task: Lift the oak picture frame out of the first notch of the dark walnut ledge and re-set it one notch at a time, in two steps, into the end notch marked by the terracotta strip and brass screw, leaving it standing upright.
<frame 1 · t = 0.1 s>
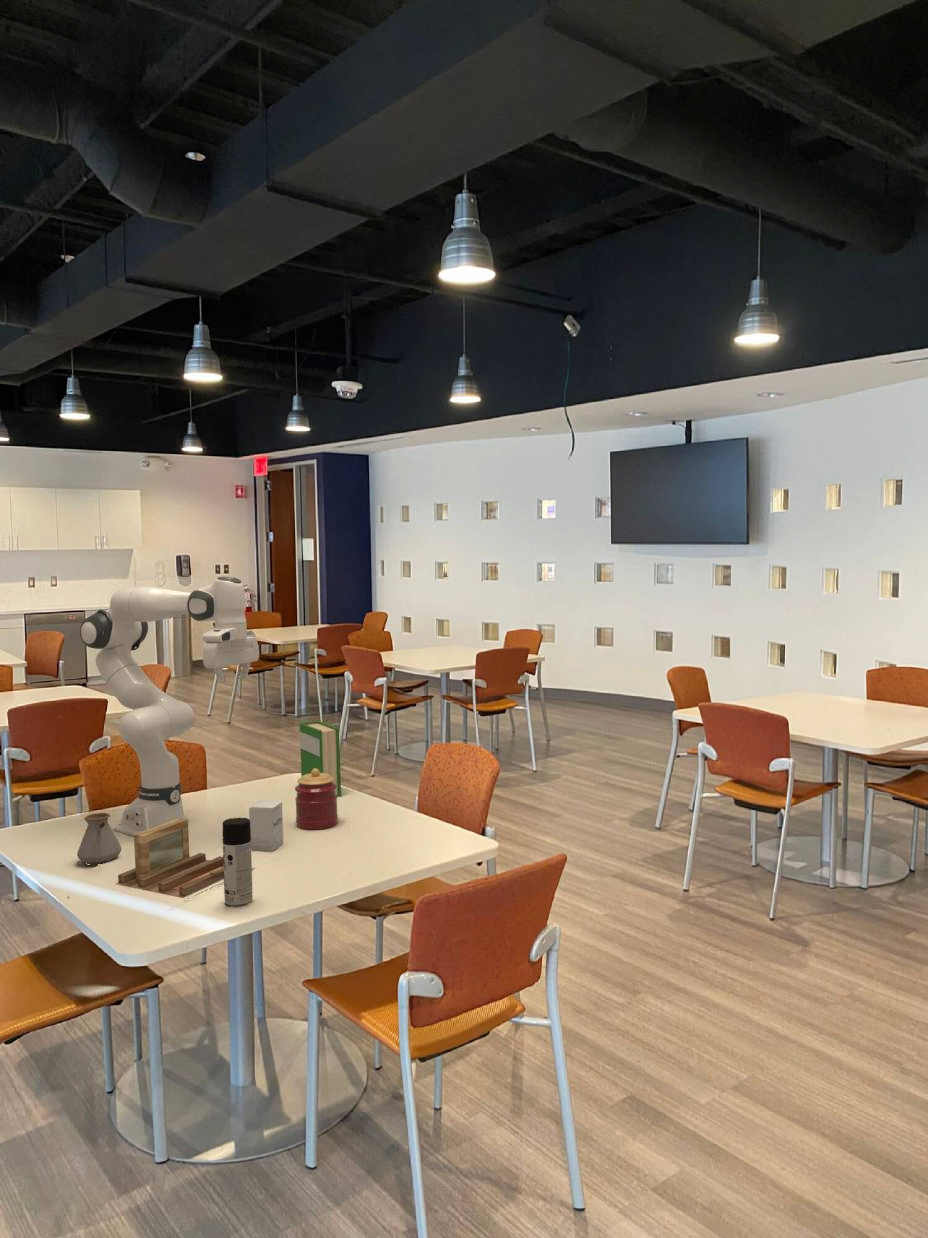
hand: (233, 680, 265), 48 cm above the table, tool pointing down, fingers open, 8 cm apart
hardback book: (321, 793, 323), on the table
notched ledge: (183, 879, 238), on the table
canister: (317, 825, 285), on the table
picture frame: (163, 871, 242), point 1 cm above the table, touching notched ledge
supplement box: (267, 847, 264), on the table
coffee pot: (101, 867, 250), on the table
spray can: (239, 902, 222), on the table
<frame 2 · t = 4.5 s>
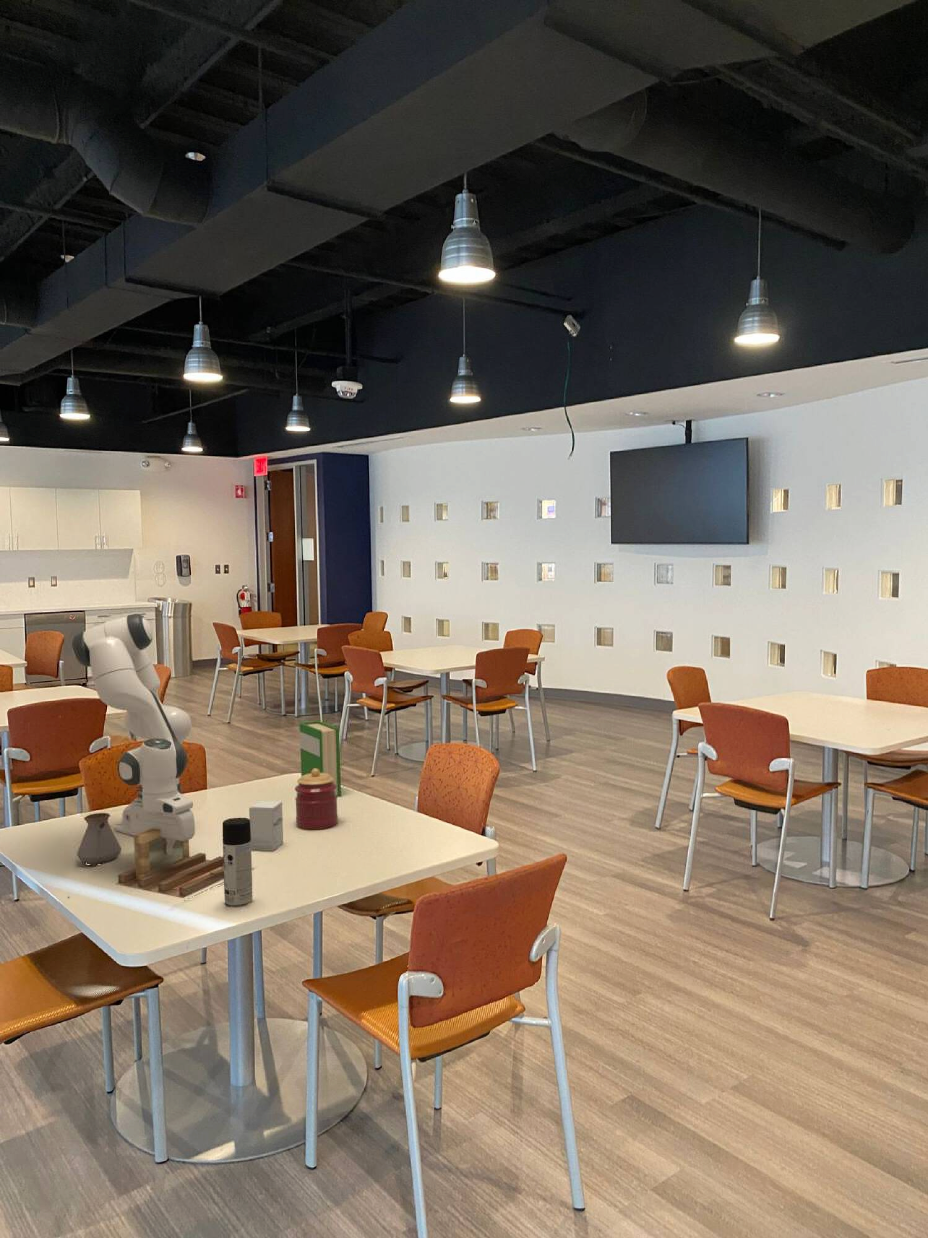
hand: (162, 852, 241), 6 cm above the table, tool pointing down, fingers closed on picture frame, 3 cm apart
picture frame: (163, 871, 242), point 1 cm above the table, touching gripper, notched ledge
everything else where it was.
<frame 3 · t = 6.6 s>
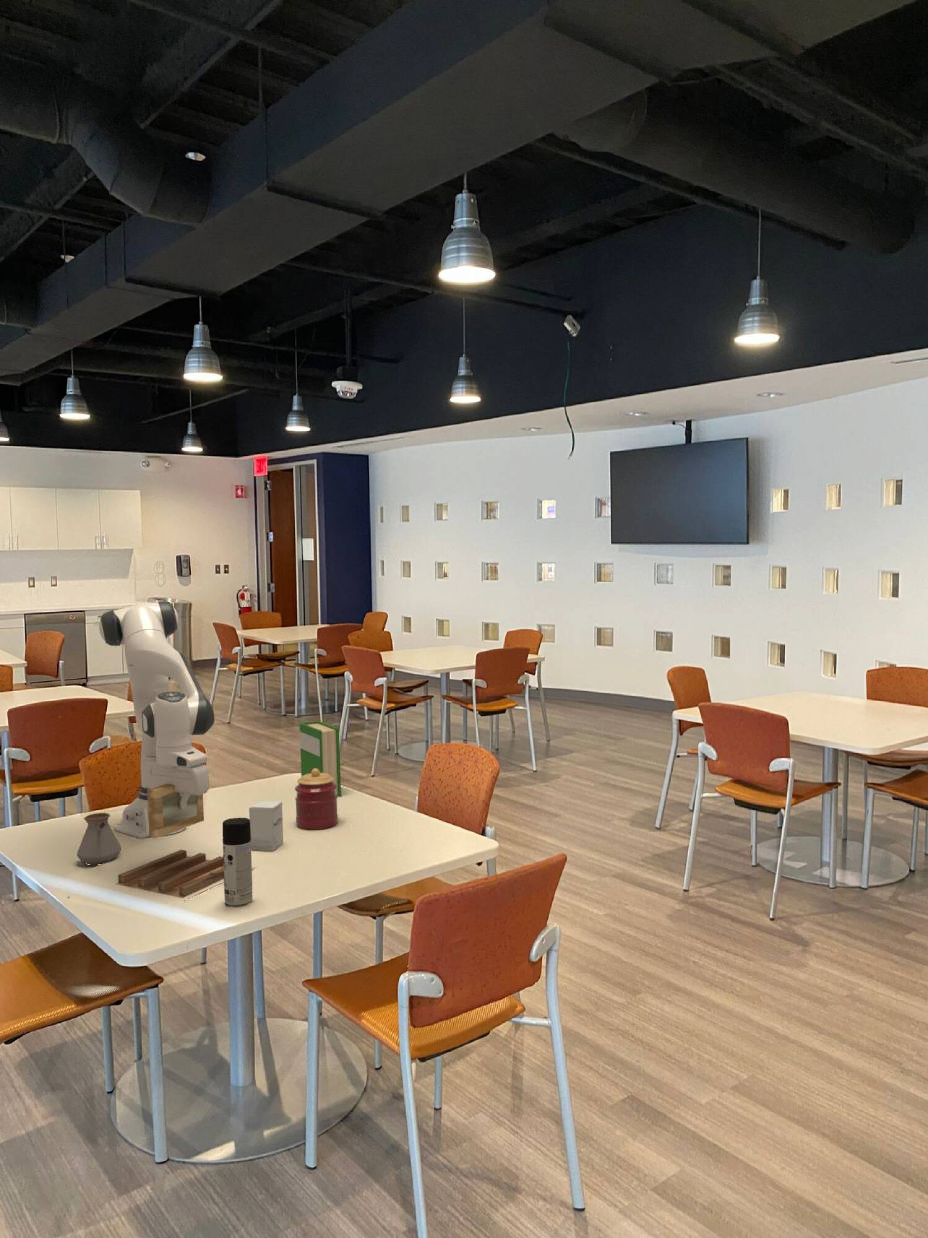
hand: (176, 808, 237), 19 cm above the table, tool pointing down, fingers closed on picture frame, 3 cm apart
picture frame: (177, 828, 237), point 14 cm above the table, touching gripper
everything else where it was.
when the fingers open (8 cm above the table, at t = 8.9 s): picture frame drops 1 cm, resting on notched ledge.
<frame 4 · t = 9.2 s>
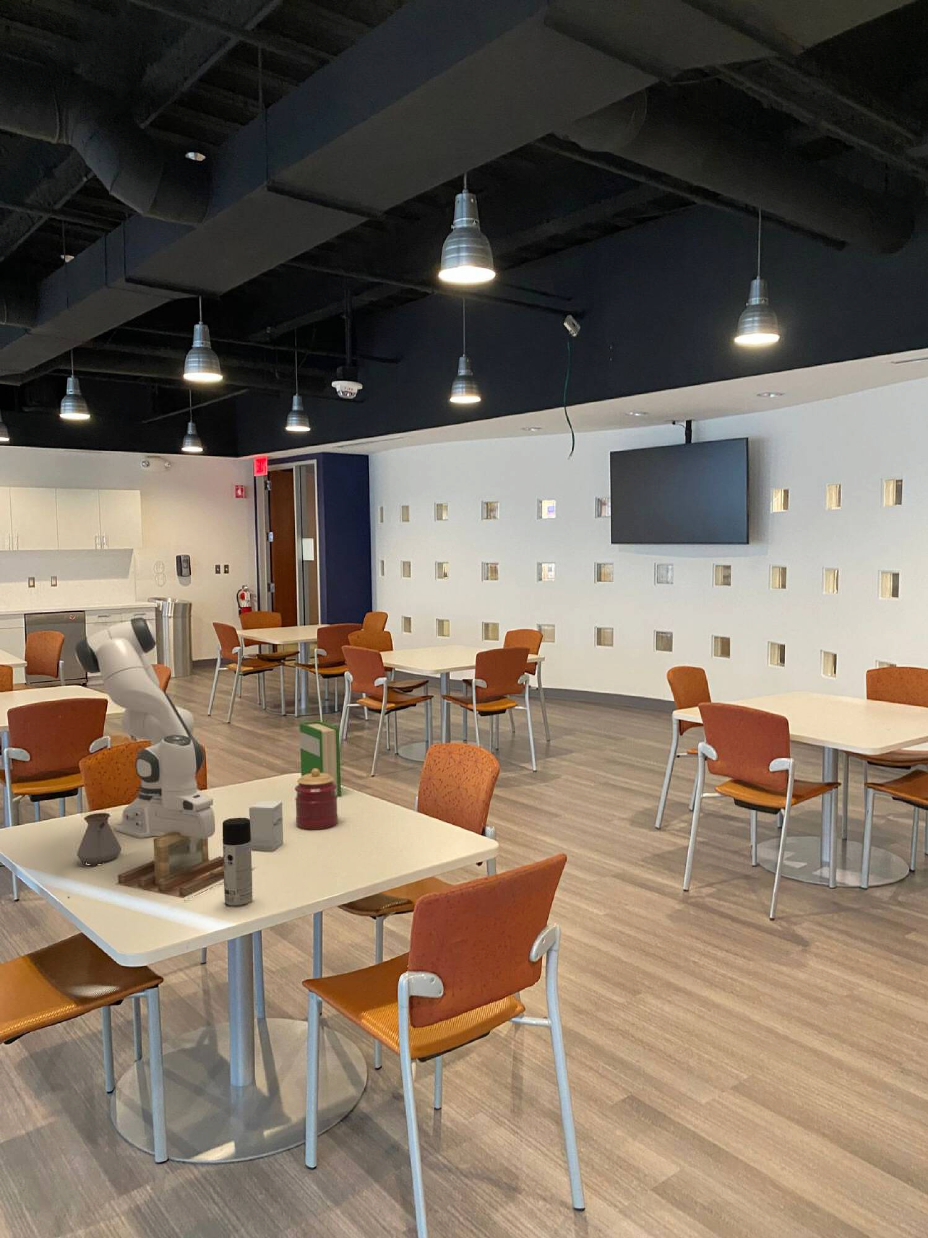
hand: (182, 850, 238), 8 cm above the table, tool pointing down, fingers open, 5 cm apart
picture frame: (182, 875, 238), point 1 cm above the table, touching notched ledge
everything else where it was.
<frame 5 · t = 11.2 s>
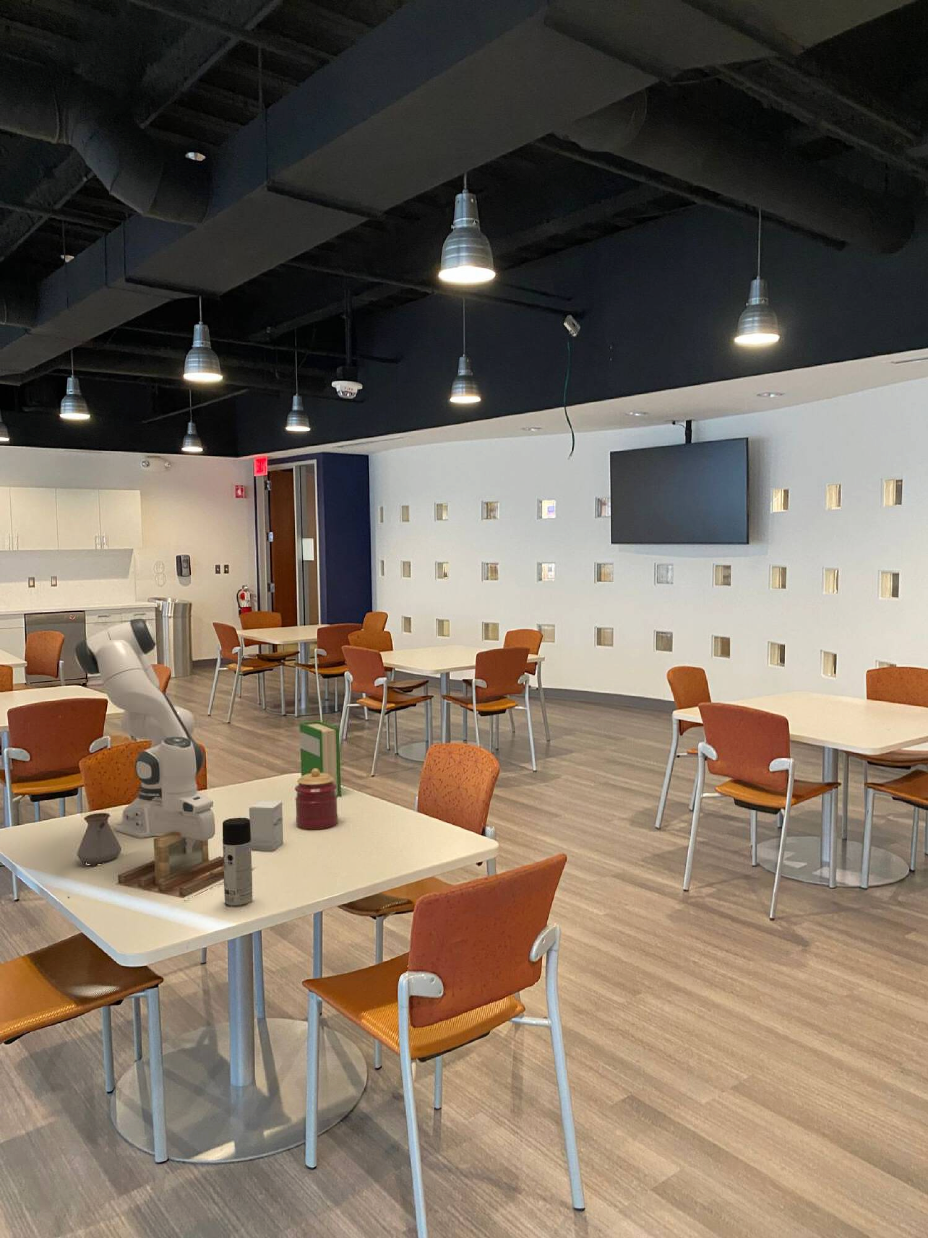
hand: (182, 852, 238), 7 cm above the table, tool pointing down, fingers closed on picture frame, 3 cm apart
picture frame: (182, 875, 238), point 1 cm above the table, touching gripper, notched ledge
everything else where it was.
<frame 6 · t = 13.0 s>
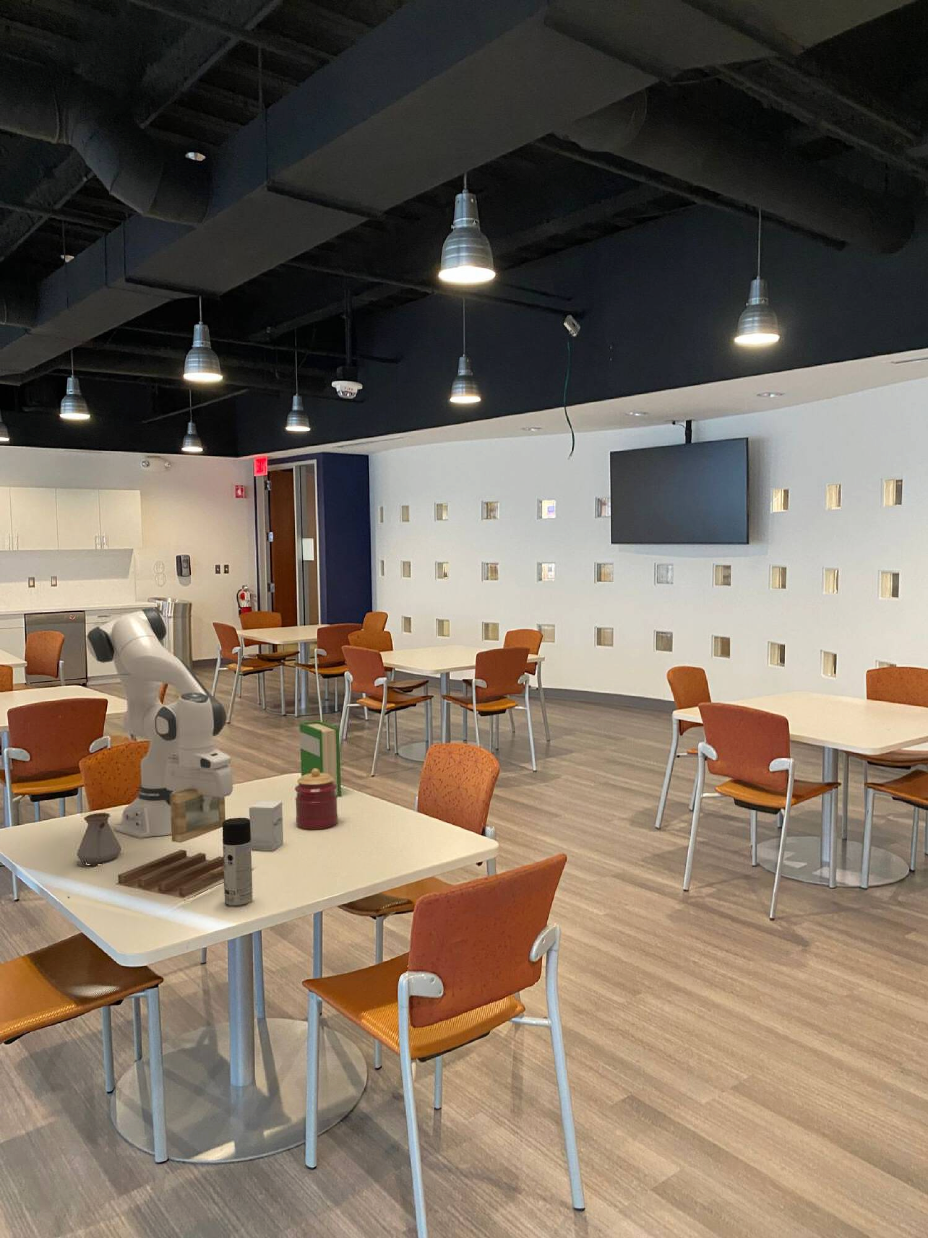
hand: (199, 810, 234), 19 cm above the table, tool pointing down, fingers closed on picture frame, 3 cm apart
picture frame: (199, 833, 234), point 13 cm above the table, touching gripper
everything else where it was.
when the fingers open (8 cm above the table, at t = 15.3 s): picture frame stays where it is, resting on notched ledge.
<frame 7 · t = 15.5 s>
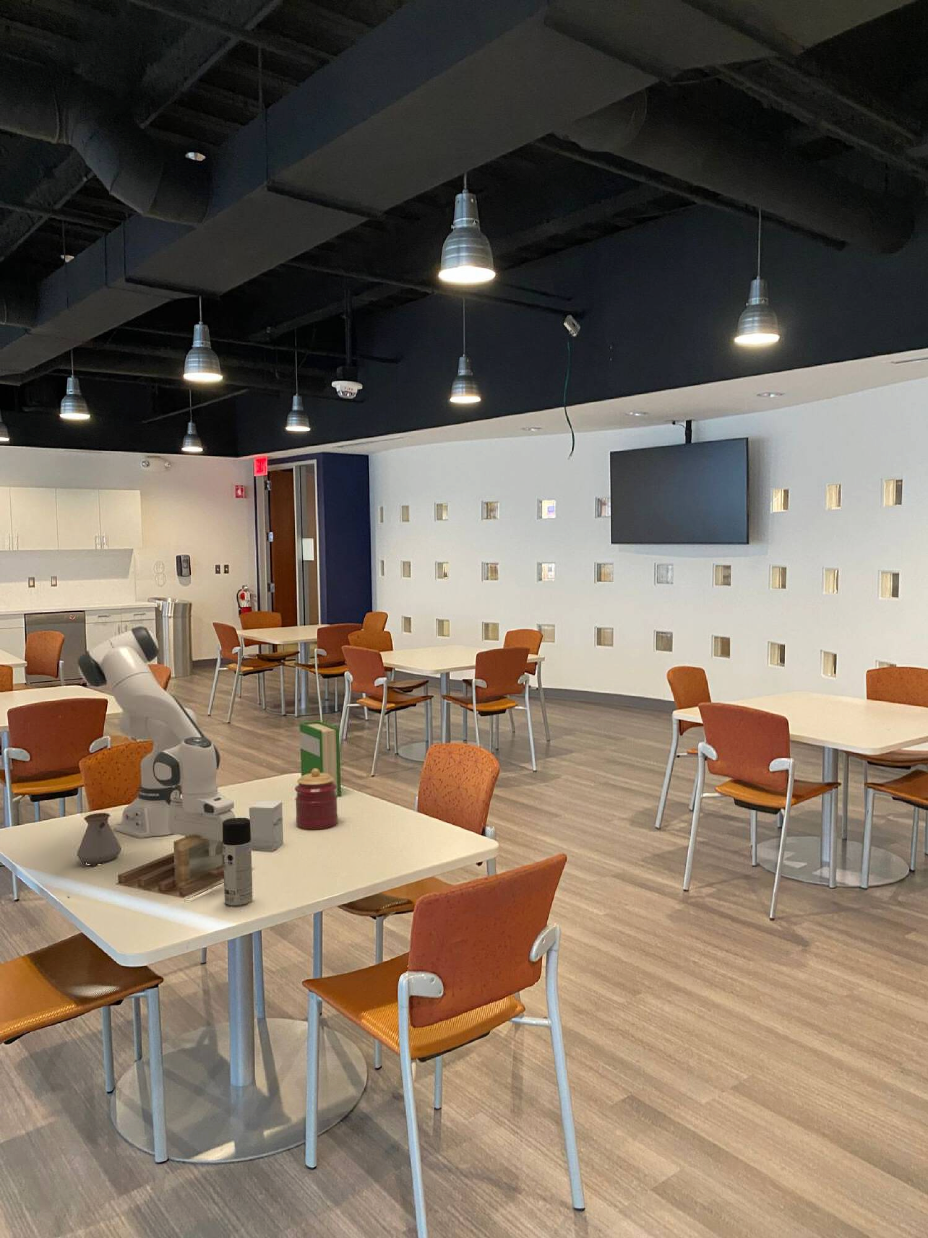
hand: (202, 854, 235), 8 cm above the table, tool pointing down, fingers open, 4 cm apart
picture frame: (202, 879, 235), point 1 cm above the table, touching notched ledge
everything else where it was.
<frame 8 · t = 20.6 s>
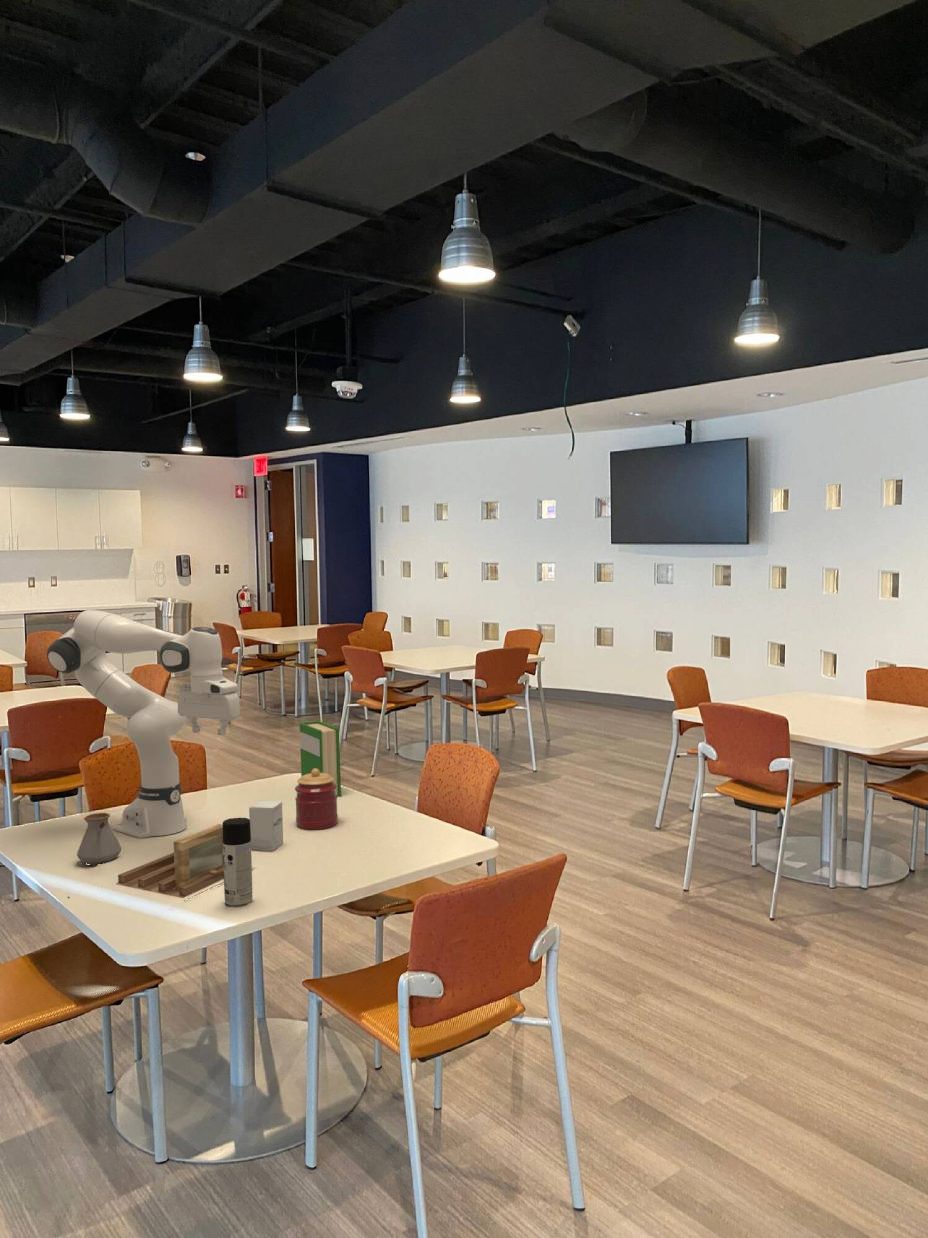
hand: (209, 733, 257), 34 cm above the table, tool pointing down, fingers open, 8 cm apart
nothing on the table moved.
at the end: picture frame 0.1 cm from the target spot on the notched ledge, point 1.1 cm above the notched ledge's base; picture frame tilted 0°; the gripper is holding nothing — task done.
